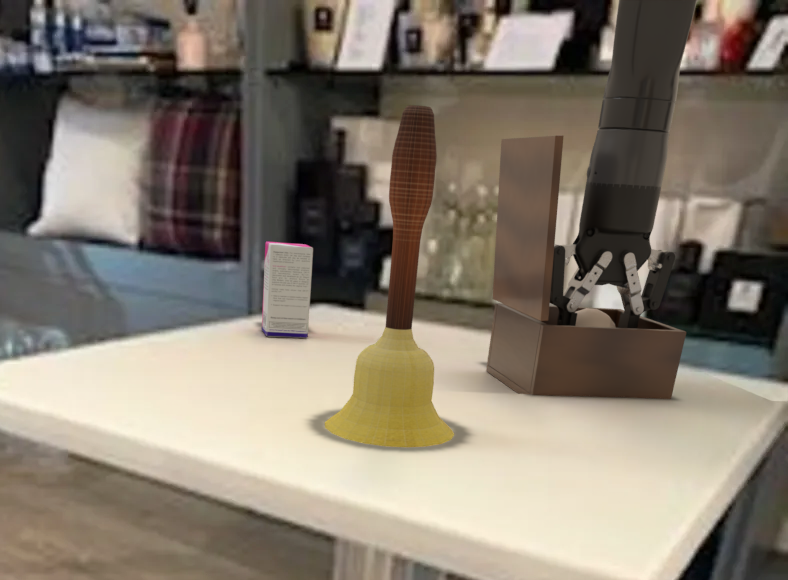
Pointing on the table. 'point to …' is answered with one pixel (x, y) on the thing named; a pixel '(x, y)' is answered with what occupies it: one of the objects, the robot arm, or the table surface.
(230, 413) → the table surface
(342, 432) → the handbell
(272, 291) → the supplement box
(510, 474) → the table surface
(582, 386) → the brown open box
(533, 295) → the lid
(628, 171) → the robot arm
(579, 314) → the light bulb
